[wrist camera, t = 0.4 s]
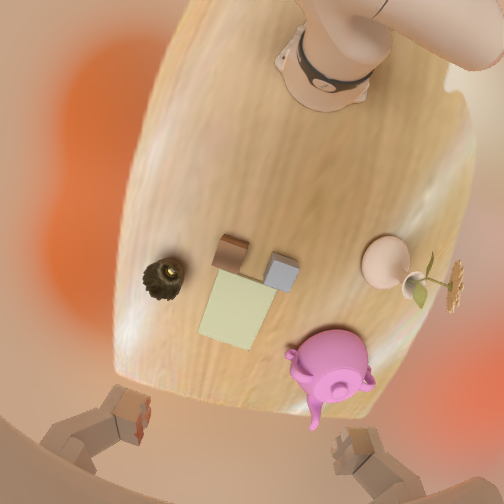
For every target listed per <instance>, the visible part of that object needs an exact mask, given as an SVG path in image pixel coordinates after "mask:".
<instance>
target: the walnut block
mask: <svg viewBox="0 0 504 504" xmlns="http://www.w3.org/2000/svg"><path fill="white" fill-rule="evenodd" d="M248 244H249V243H247V242H245V241H242V240H239V239H237V238H234V237H231V236H229V235H226V234H224V235H223V236H222V238H221V240H220V242H219V245H218V248H217V251H216V254H215V257H214V259H213V262H212V266H215V267H218V268H220V269H223V270H226V271H228V272H231V273H234V274H237V275H238V273H239V270H240V267H241V265H242V262H243V260H244V257H245V254H246V252H247V249H248Z"/></svg>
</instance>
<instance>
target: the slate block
mask: <svg viewBox="0 0 504 504" xmlns="http://www.w3.org/2000/svg"><path fill="white" fill-rule="evenodd" d="M299 270H300V268H299V266H298V263H297V261H295V260H293V259H290V258H287V257H285V256H282V255H279V254H277V253H274V252H273V253H272V256H271V258H270V261H269V263H268V265H267V268H266V270H265V273H264V285H267V286H270V287H273V288H275V289H278V290H281V291H284V292H287V293H289V292H290V290H291V288H292V286H293V283H294V281H295V279H296V277H297V275H298V272H299Z"/></svg>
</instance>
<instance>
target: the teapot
mask: <svg viewBox="0 0 504 504" xmlns="http://www.w3.org/2000/svg"><path fill="white" fill-rule="evenodd" d="M285 357H286V359H288V360H292V363H291V366H290V374H291V376H292V378H293V379H295V380H296V381H297V382H298V384H299V385H300V387H301V388H302V389H303V390H304V391H305V392H306V393H307V403H308V406H309V409H310V412H311V425H310V430H311V431H313V430H314V429H315V428H316V427H317V426H318V424H319V421H320V416H321V409H322V404H323V402H326V403H336V402H340V401H343V400H346V399H348V398H350V397H351V396H352V395H354V394H355V393H356V392H357V391H358V390H360V391H363V392H369V391H371V390H372V389H373V388H374V387H375V384H376V383H375V380H374V378H373V376H372V375H371V374H370V373H371V368H370V367H369V366H368V355H367V350H366V347H365V345H364V343H363V341H362V340H361V339H360V338H359V337H358V336H357V335H355V334H354V333H351V332H349V331H346V330H337V329H336V330H327V331H323V332H320V333H318V334H316V335H314V336H312V337H310V338H309V339H307V340H306V341H305V342H304V343H303V344H302V345H301V346H300V347H299V349H298V350H297V351H296V350H294V349H289V350H287V351H286V352H285ZM364 379H365V381H366V382H367V384H366V383H364V382H363V380H364Z"/></svg>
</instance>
